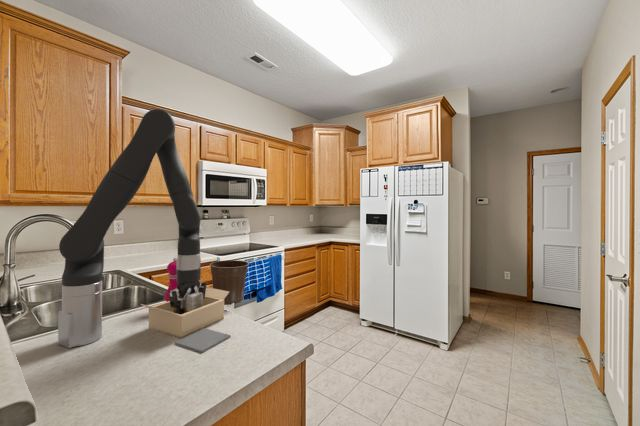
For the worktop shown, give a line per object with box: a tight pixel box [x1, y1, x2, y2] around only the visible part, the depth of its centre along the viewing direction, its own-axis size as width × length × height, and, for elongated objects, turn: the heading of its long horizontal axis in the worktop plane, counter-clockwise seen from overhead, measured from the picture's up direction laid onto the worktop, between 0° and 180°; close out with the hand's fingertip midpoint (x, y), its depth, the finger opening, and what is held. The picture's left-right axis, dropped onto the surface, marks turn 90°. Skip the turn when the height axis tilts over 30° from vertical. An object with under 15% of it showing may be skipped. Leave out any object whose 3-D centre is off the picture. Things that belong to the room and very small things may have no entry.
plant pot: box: [208, 259, 250, 306], centre depth 123 cm, size 16×16×16 cm
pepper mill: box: [164, 257, 178, 302], centre depth 113 cm, size 7×7×20 cm
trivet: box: [174, 327, 231, 354], centre depth 87 cm, size 11×11×1 cm
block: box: [173, 292, 203, 313], centre depth 99 cm, size 4×9×10 cm, turn 64°
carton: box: [140, 286, 229, 340], centre depth 99 cm, size 24×16×9 cm, turn 154°
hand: (188, 315), depth 99 cm, fingers open, 5 cm apart
